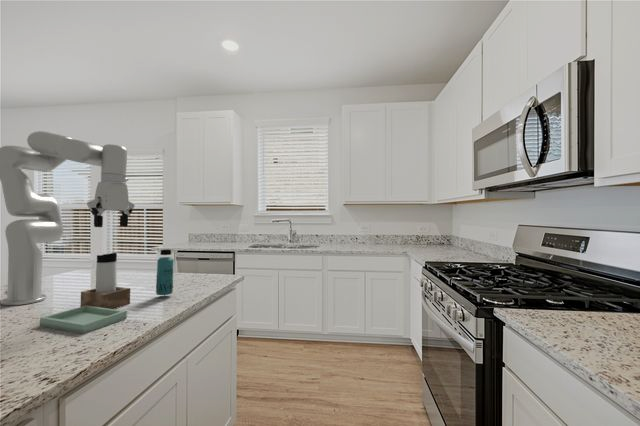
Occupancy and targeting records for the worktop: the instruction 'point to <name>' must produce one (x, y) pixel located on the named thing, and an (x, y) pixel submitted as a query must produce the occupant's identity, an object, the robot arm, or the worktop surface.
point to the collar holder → (106, 298)
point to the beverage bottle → (164, 274)
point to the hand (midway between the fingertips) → (111, 226)
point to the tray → (83, 319)
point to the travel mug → (106, 273)
